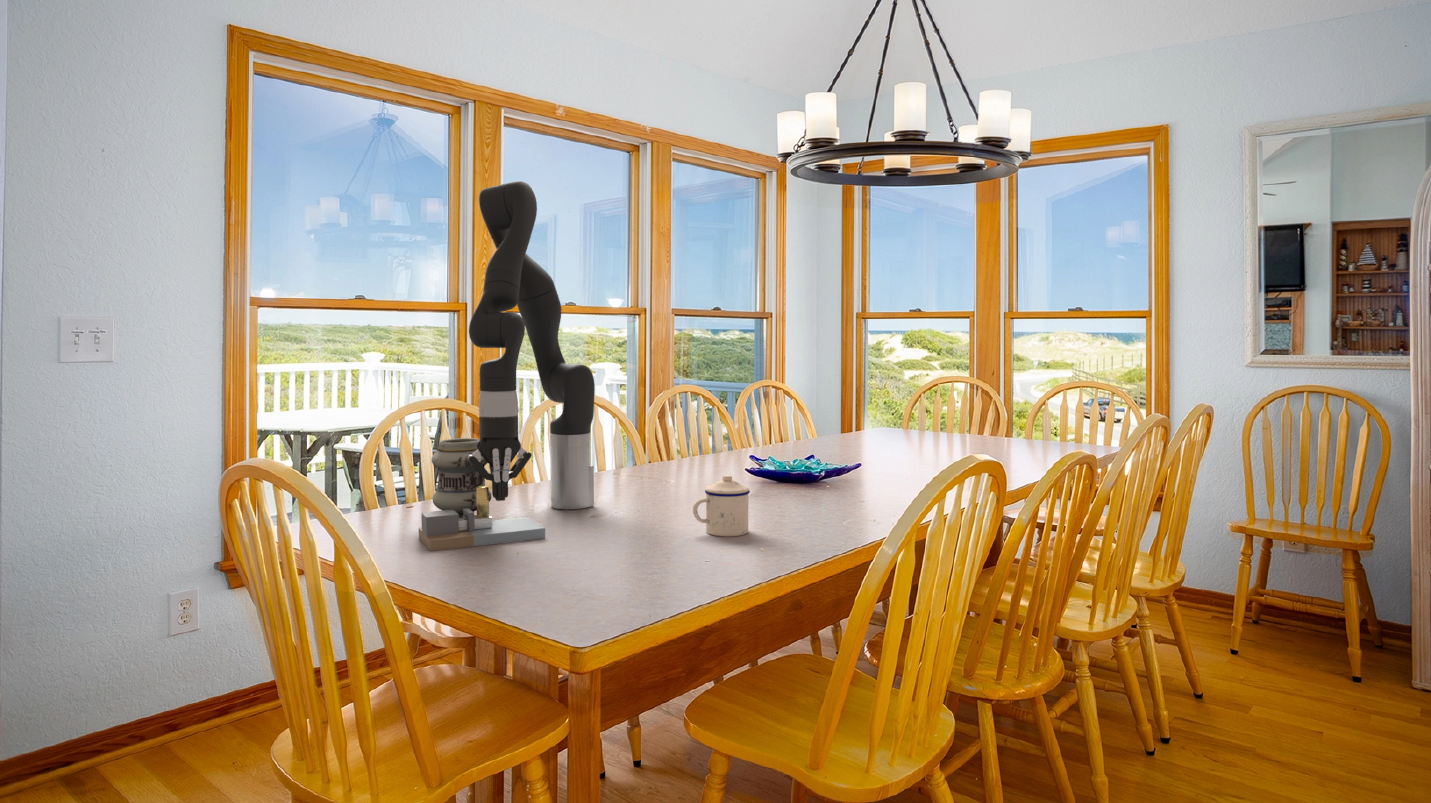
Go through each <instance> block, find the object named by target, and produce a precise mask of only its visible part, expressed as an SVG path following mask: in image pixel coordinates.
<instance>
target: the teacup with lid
mask: <svg viewBox="0 0 1431 803" xmlns="http://www.w3.org/2000/svg"><path fill="white" fill-rule="evenodd" d="M721 479H722V480H721ZM721 479H720V480H718V481H716V482H715V483H713V484H710V485H707V486H706V487H705V490H704V493H705V497H703V498H698V500H696V501H695V502H694V504H693V506H692V514H693V516H694V518H695V520H697V521H698V522H699V523H702V524H705V532H706V533H707V534H708V535H712V536H716V537H724V538H725V537H728V538H729V537H739V536H743V535H746V534H747V533H748V532H749V494H750V488H749V487H748V486H747V485H744V484H741V483H740V482H738V481H737V480H733V476H732V475H731V474H724V475H723V476H722V478H721ZM702 503H705V518H701V517H700V516H699V512H698V508H699V506H700V504H701V505H702Z"/></svg>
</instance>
